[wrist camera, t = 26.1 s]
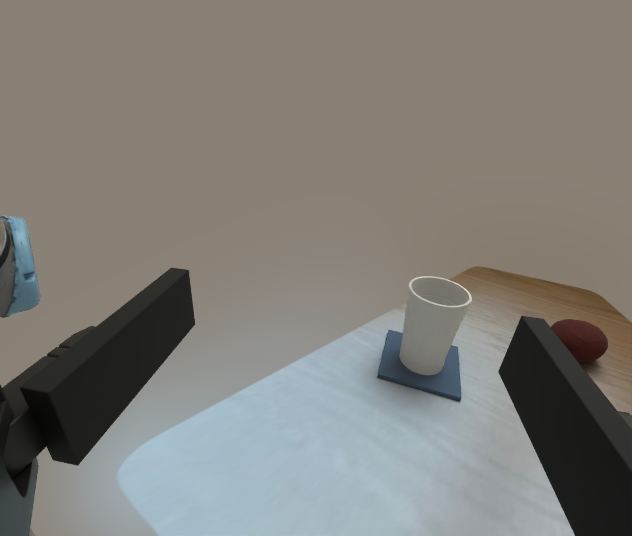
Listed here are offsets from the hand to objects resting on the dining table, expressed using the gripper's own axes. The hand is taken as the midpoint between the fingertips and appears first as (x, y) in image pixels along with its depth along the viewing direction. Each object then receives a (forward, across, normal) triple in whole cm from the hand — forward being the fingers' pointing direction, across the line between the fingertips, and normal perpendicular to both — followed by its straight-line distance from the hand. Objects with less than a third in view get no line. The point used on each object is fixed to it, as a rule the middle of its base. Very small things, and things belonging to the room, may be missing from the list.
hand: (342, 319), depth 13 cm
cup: (+29, +12, -26) cm, 41 cm away
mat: (+29, +12, -26) cm, 41 cm away
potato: (+37, +36, -26) cm, 58 cm away
